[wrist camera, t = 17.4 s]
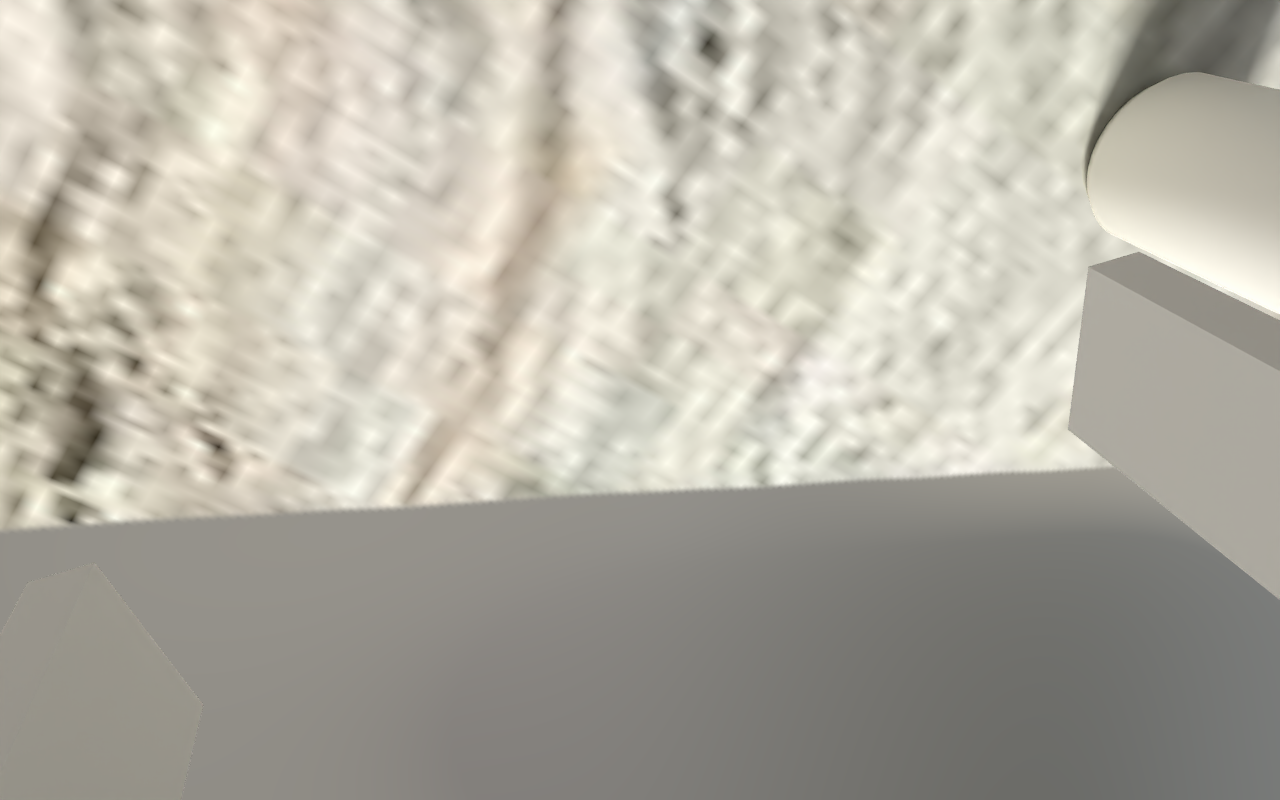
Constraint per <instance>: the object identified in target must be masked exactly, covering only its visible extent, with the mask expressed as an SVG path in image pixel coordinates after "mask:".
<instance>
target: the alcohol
mask: <svg viewBox="0 0 1280 800" xmlns="http://www.w3.org/2000/svg"><path fill="white" fill-rule="evenodd" d="M1086 182H1087V194H1088V197H1089V201H1090V204H1091V207H1092V211H1093V214H1094V217H1095V218H1096V220H1097V221H1098V223H1099V224H1100V226H1101V227H1102V228H1103V229H1105V230H1106V231H1107V232H1108V233H1109V234H1111V235H1113V236H1116V237H1118V238H1120V239H1122V240H1124V241H1126V242H1128V243H1130V244H1132V245H1135V246H1137V247H1139V248H1141V249H1143V250H1145V251H1147V252H1149V253H1151V254H1153V255H1156V256H1158V257H1160V258H1162V259H1164V260H1166V261H1168V262H1170V263H1172V264H1175V265H1177V266H1179V267H1181V268H1183V269H1185V270H1187V271H1189V272H1191V273H1193V274H1196V275H1198V276H1200V277H1202V278H1204V279H1206V280H1208V281H1210V282H1212V283H1215V284H1217V285H1219V286H1221V287H1223V288H1225V289H1227V290H1229V291H1231V292H1233V293H1236V294H1238V295H1240V296H1242V297H1244V298H1246V299H1248V300H1250V301H1252V302H1255V303H1257V304H1259V305H1261V306H1263V307H1265V308H1267V309H1269V310H1271V311H1273V312H1276V313H1278V314H1280V90H1278V89H1274V88H1269V87H1265V86H1260V85H1256V84H1251V83H1247V82H1242V81H1238V80H1233V79H1229V78H1224V77H1220V76H1215V75H1211V74H1206V73H1201V72H1191V73H1183V74H1179V75H1176V76H1172V77H1169V78H1167V79H1165V80H1163V81H1161V82H1159V83H1157V84H1155V85H1153V86H1151V87H1149V88H1147V89H1145V90H1143V91H1141V92H1140V93H1139V94H1137V95H1136V96H1134V97H1133V98H1132V99H1130V100H1129V101H1128V102H1127V103H1126V104H1125V105H1124V106H1123V107H1122V108H1121V109H1119V110H1118V111H1117V113H1116V114H1115V115H1114V116H1113V118H1112V119H1111V120H1110V121H1109V123H1108V124H1107V125H1106V127H1105V128H1104V130H1103V132H1102V133H1101V135H1100V137H1099V138H1098V140H1097V143H1096V145H1095V147H1094V150H1093V152H1092V155H1091V158H1090V162H1089V165H1088V171H1087V181H1086Z"/></svg>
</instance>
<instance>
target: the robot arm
mask: <svg viewBox="0 0 1280 800" xmlns="http://www.w3.org/2000/svg"><path fill="white" fill-rule="evenodd" d="M1068 430H1069V431H1071V432H1072V433H1073V434H1074V435H1076V436H1077V437H1078V438H1079V439H1081V440H1082V441H1083V442H1084V443H1085V444H1087V445H1088V446H1089V447H1090V448H1092V449H1093V450H1094V451H1095V452H1097V453H1098V454H1099V455H1100V456H1102V457H1103V458H1104V459H1105V460H1107V461H1108V462H1109V463H1110V464H1112V465H1113V466H1114V467H1115V468H1117V469H1118V470H1119V471H1120V472H1122V473H1123V474H1124V475H1125V476H1127V477H1128V478H1129V479H1131V481H1133V482H1134V483H1135V484H1136V485H1138V486H1139V487H1140V488H1142V489H1143V490H1144V491H1145V492H1146V493H1148V494H1149V495H1150V496H1151V497H1153V498H1154V499H1155V500H1156V501H1158V502H1159V503H1160V504H1161V505H1163V506H1164V507H1165V508H1166V509H1168V510H1169V511H1170V512H1171V513H1173V514H1174V515H1175V516H1176V517H1177V518H1179V519H1180V520H1181V521H1182V522H1184V523H1185V524H1186V525H1187V526H1189V527H1190V528H1191V529H1193V530H1194V531H1195V532H1196V533H1197V534H1199V535H1200V536H1201V537H1202V538H1204V539H1205V540H1206V541H1207V542H1209V543H1210V544H1211V545H1212V546H1214V547H1215V548H1216V549H1217V550H1219V551H1220V552H1221V553H1222V554H1224V555H1225V556H1226V557H1227V558H1229V559H1230V560H1231V561H1232V562H1233V563H1235V564H1236V565H1237V566H1238V567H1240V568H1241V569H1242V570H1244V571H1245V572H1246V573H1247V574H1248V575H1250V576H1251V577H1252V578H1253V579H1255V580H1256V581H1257V582H1259V583H1260V584H1261V585H1262V586H1263V587H1265V588H1266V589H1267V590H1268V591H1270V592H1271V593H1272V594H1273V595H1274V596H1276V597H1277V598H1278V599H1279V600H1280V320H1278V319H1275V318H1273V317H1271V316H1269V315H1267V314H1265V313H1263V312H1261V311H1259V310H1257V309H1255V308H1253V307H1251V306H1249V305H1247V304H1245V303H1243V302H1241V301H1239V300H1237V299H1235V298H1232V297H1230V296H1228V295H1226V294H1224V293H1222V292H1220V291H1218V290H1216V289H1214V288H1212V287H1210V286H1208V285H1206V284H1204V283H1202V282H1200V281H1198V280H1196V279H1194V278H1192V277H1189V276H1187V275H1185V274H1183V273H1181V272H1179V271H1177V270H1175V269H1173V268H1171V267H1169V266H1167V265H1165V264H1163V263H1161V262H1159V261H1157V260H1155V259H1153V258H1151V257H1149V256H1147V255H1144V254H1142V253H1140V252H1137V253H1133V254H1130V255H1127V256H1123V257H1120V258H1117V259H1113V260H1110V261H1106V262H1103V263H1100V264H1096V265H1093V266H1090V267H1088V274H1087V282H1086V290H1085V298H1084V306H1083V314H1082V322H1081V330H1080V338H1079V346H1078V354H1077V362H1076V370H1075V378H1074V386H1073V394H1072V402H1071V409H1070V417H1069V425H1068ZM202 710H203V704H202V703H201V701H200V700H199V699H198V697H197V696H196V695H195V693H194V692H193V691H192V689H191V688H190V687H189V686H188V684H187V683H186V682H185V680H184V679H183V678H182V677H181V675H180V674H179V672H178V671H177V670H176V669H175V667H174V666H173V665H172V663H171V662H170V661H169V659H168V658H167V657H166V655H165V654H164V653H163V651H162V650H161V649H160V648H159V646H158V645H157V644H156V643H155V641H154V640H153V639H152V637H151V636H150V634H149V633H148V632H147V631H146V629H145V628H144V627H143V625H142V624H141V623H140V621H139V620H138V619H137V617H136V616H135V615H134V613H133V612H132V611H131V610H130V608H129V607H128V606H127V604H126V603H125V602H124V600H123V599H122V598H121V596H120V595H119V594H118V593H117V591H116V590H115V589H114V587H113V586H112V585H111V583H110V582H109V581H108V579H107V578H106V577H105V576H104V574H103V573H102V572H101V571H100V569H99V568H98V566H97V565H96V564H95V563H91V564H87V565H84V566H80V567H77V568H74V569H70V570H67V571H64V572H60V573H57V574H53V575H50V576H47V577H43V578H40V579H37V580H33V581H30V582H28V583H27V585H26V586H25V589H24V590H23V592H22V594H21V596H20V598H19V600H18V602H17V603H16V605H15V607H14V609H13V611H12V613H11V615H10V617H9V619H8V620H7V622H6V624H5V626H4V628H3V630H2V632H1V634H0V800H181V799H182V794H183V790H184V786H185V781H186V777H187V773H188V769H189V764H190V760H191V756H192V752H193V748H194V743H195V739H196V735H197V731H198V727H199V722H200V718H201V714H202Z"/></svg>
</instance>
